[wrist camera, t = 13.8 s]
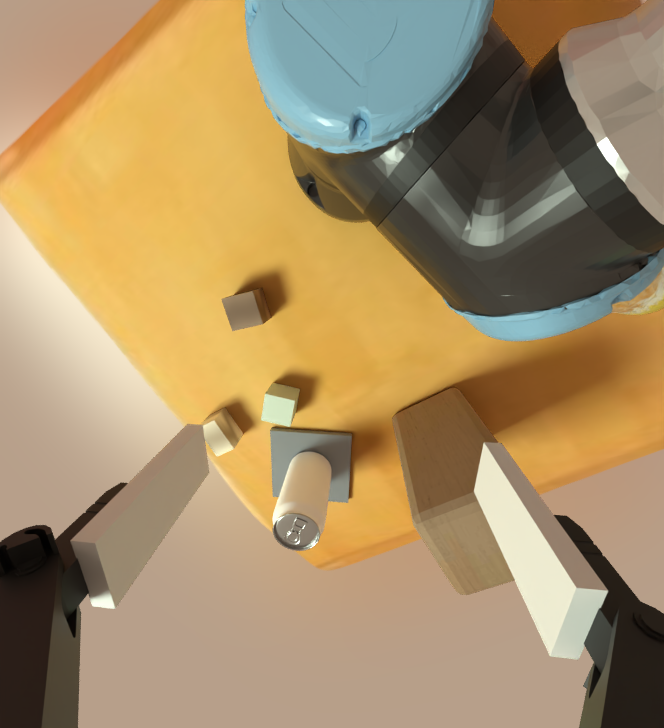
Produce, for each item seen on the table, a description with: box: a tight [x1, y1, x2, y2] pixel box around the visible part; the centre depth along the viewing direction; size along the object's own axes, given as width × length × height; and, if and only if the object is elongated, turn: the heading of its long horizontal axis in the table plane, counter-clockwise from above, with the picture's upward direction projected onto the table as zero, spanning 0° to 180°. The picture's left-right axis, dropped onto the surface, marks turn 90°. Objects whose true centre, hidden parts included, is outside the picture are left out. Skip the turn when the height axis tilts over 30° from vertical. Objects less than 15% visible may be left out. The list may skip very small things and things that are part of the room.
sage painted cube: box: [261, 383, 300, 427], centre depth 44 cm, size 4×4×4 cm
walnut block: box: [222, 288, 271, 331], centre depth 40 cm, size 4×4×4 cm
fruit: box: [612, 267, 664, 315], centre depth 32 cm, size 10×11×10 cm
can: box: [273, 452, 331, 551], centre depth 43 cm, size 6×6×12 cm
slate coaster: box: [270, 428, 352, 503], centre depth 49 cm, size 12×12×1 cm
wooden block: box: [392, 388, 515, 595], centre depth 36 cm, size 10×10×20 cm
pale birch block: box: [201, 408, 243, 456], centre depth 47 cm, size 5×3×4 cm, turn 28°
